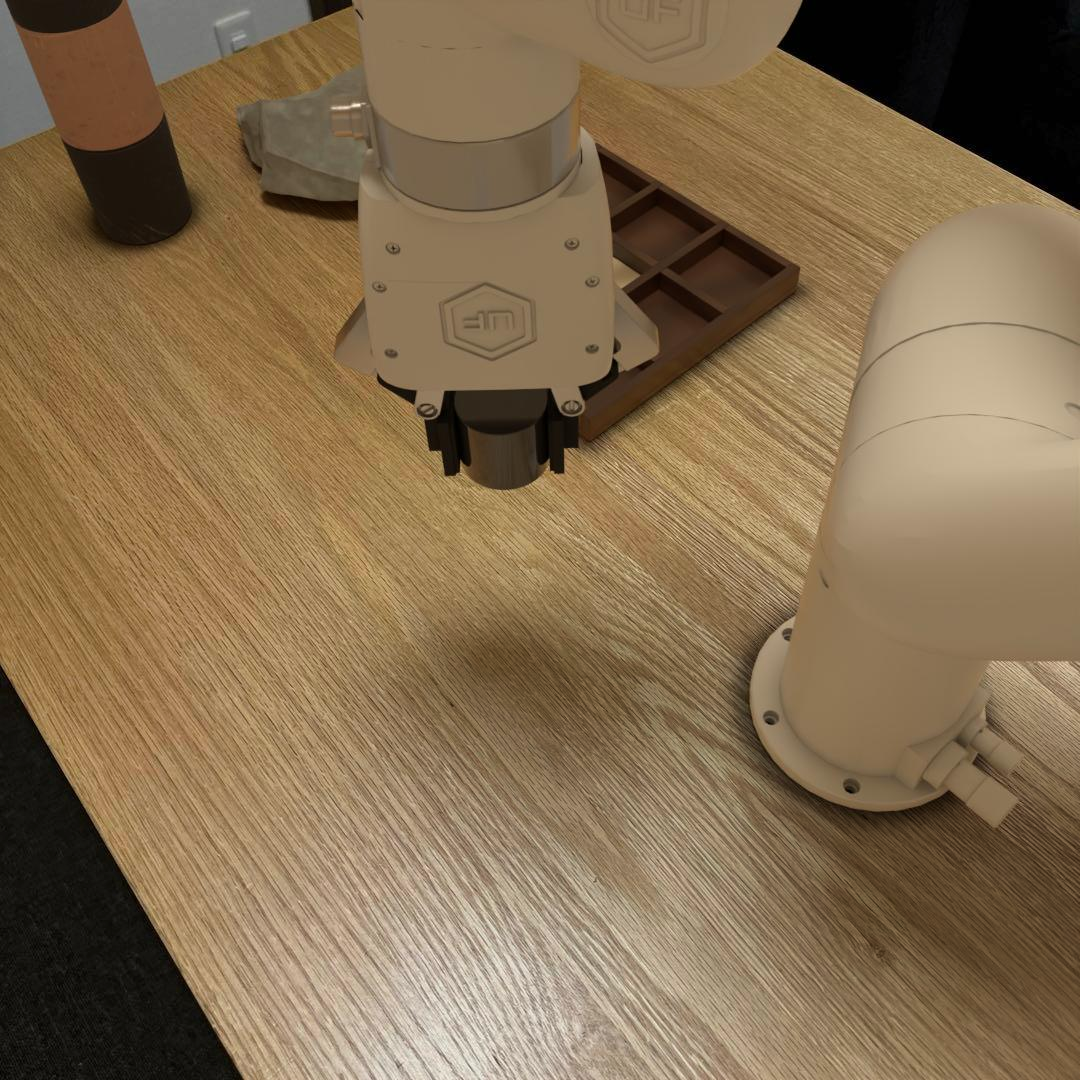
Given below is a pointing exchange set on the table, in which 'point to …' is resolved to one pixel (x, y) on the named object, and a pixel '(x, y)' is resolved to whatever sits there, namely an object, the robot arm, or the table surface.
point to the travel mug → (107, 113)
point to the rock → (305, 142)
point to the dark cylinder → (503, 436)
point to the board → (678, 283)
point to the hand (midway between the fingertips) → (505, 450)
